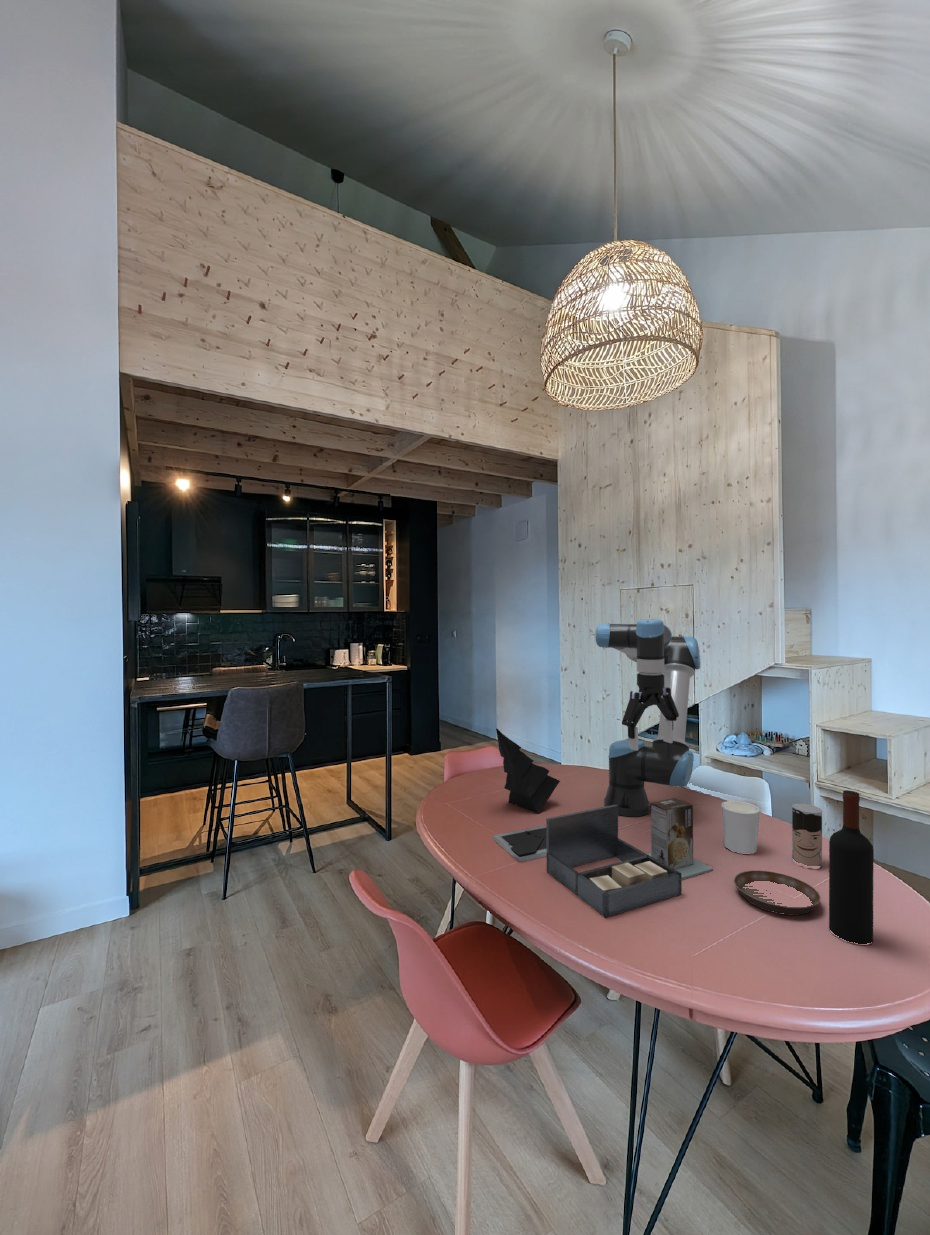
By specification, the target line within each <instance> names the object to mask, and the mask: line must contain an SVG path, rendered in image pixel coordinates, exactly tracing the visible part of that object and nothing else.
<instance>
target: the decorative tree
mask: <svg viewBox="0 0 930 1235" xmlns="http://www.w3.org/2000/svg"><path fill="white" fill-rule="evenodd" d="M495 730H496V736H497V737H496V738H497V743H498V750H499V755H500V757H501V758H503V759H502V760H503V762H502V764H503V772H504V773H506V777H505V785H504V789H505V790H507V791H509V795H508V802H509V804H511V803H512V805H515V804H516V805H515V806H517V807H519V808H522V809H523V808H524V809H523V810H526V809H527V811H529V812H531V811H532V813H534V812H535V814H538V815H539V814H540V812H541V811H542V809H543V807H544V806H545V804H547V802H548V800H549V798H550V797H551V796H552V795H553V792H554V791H555V790H556V788H557V787H558V785H559V784H560V783H561V780H560V779H557V778H555V777H552V776H550V775H548V774H549V772H550V770H549V769H548V768H546V767H544V766H541V765H537V764H534V763H533V762H534V761H535V760H533V759H532V758H530V757H529V756H528V755H527V754H525V753H524V751H522V750H521V749H522V746H520V745H518V743H516V742H514V740H511V739H510V738H509V737H508V736H506V735H505V734H503V733H502V731H500V730H499V729H498V728H497V727H496V728H495Z"/></svg>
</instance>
